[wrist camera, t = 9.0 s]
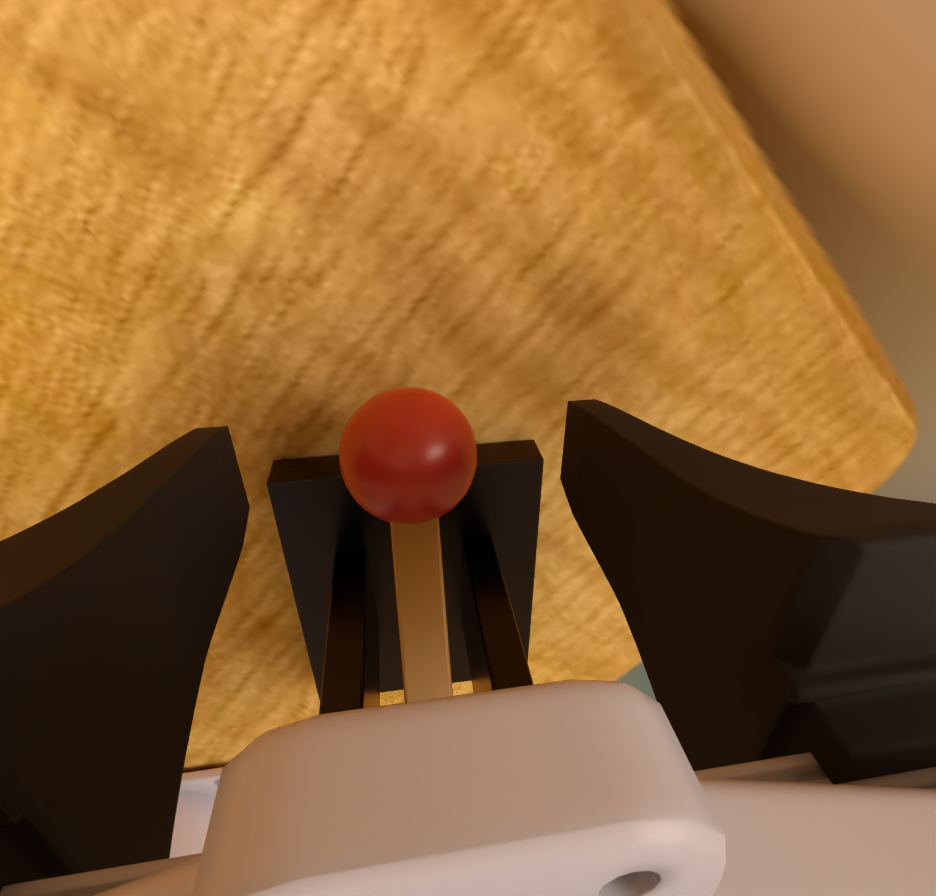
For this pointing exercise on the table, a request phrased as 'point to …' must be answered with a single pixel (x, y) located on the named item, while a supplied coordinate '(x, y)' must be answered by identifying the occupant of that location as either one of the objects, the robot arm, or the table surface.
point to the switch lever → (413, 512)
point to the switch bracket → (373, 581)
